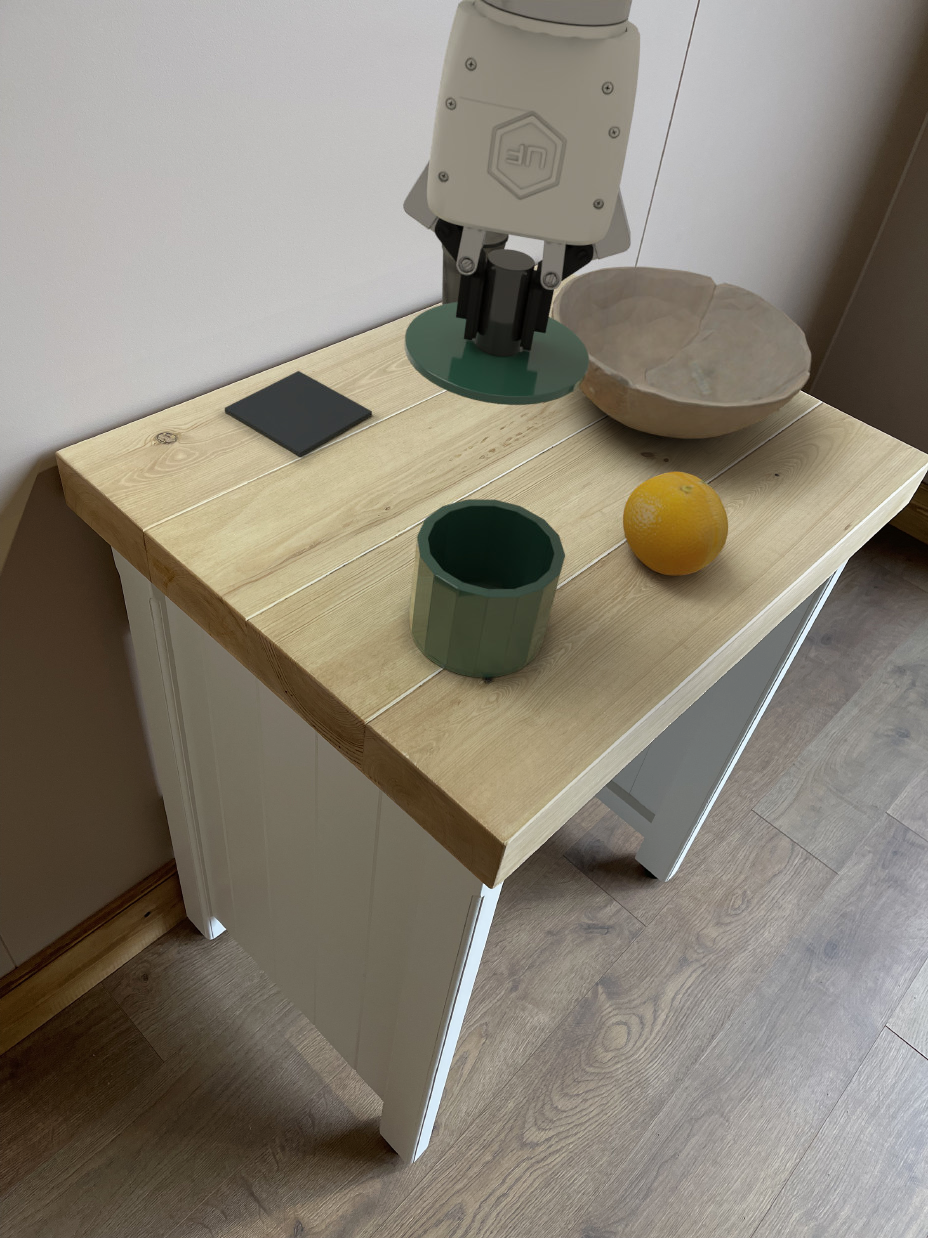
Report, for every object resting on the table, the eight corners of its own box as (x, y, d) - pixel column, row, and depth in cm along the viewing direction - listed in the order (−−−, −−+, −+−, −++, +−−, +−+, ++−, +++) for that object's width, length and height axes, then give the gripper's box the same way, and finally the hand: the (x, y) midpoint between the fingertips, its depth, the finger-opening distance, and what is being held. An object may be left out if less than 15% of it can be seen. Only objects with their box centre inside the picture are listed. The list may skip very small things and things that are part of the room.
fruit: (728, 566, 81) (759, 494, 75) (676, 607, 76) (705, 533, 71) (648, 515, 85) (672, 443, 79) (594, 551, 80) (616, 477, 75)
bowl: (816, 411, 101) (854, 328, 94) (716, 524, 85) (752, 433, 78) (612, 322, 110) (632, 240, 103) (486, 408, 94) (500, 318, 87)
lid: (365, 357, 57) (370, 250, 52) (477, 300, 64) (490, 202, 59) (516, 437, 53) (536, 330, 48) (618, 367, 60) (645, 267, 55)
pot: (381, 628, 71) (387, 545, 65) (464, 562, 77) (476, 481, 71) (491, 700, 67) (508, 620, 61) (568, 625, 74) (591, 545, 68)
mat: (224, 412, 88) (224, 407, 88) (298, 374, 95) (298, 370, 94) (300, 457, 85) (300, 452, 85) (371, 415, 91) (372, 410, 91)
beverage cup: (455, 310, 108) (476, 127, 94) (506, 333, 105) (535, 149, 91) (417, 331, 103) (433, 142, 89) (469, 356, 101) (494, 166, 87)
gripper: (371, -33, 41) (357, 340, 54) (729, 29, 41) (628, 389, 54) (402, -62, 47) (382, 285, 60) (719, -7, 46) (629, 328, 59)
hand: (499, 331), depth 57 cm, fingers closed on lid, 2 cm apart
